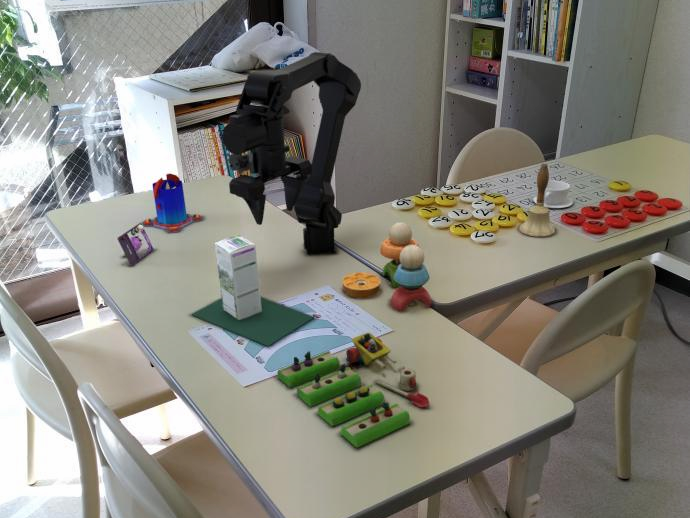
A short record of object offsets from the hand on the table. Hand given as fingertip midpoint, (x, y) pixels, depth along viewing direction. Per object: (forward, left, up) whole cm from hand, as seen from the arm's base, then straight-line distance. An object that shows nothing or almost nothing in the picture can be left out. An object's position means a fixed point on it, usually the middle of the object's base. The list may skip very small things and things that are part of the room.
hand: (274, 217), depth 152 cm
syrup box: (+8, +16, -13) cm, 22 cm away
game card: (+32, -14, -13) cm, 37 cm away
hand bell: (-62, -15, -13) cm, 65 cm away
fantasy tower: (+25, -34, -13) cm, 44 cm away
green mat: (+6, +18, -13) cm, 23 cm away
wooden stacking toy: (-22, +12, -13) cm, 28 cm away
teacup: (-72, -32, -13) cm, 80 cm away
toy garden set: (-12, +45, -13) cm, 48 cm away
